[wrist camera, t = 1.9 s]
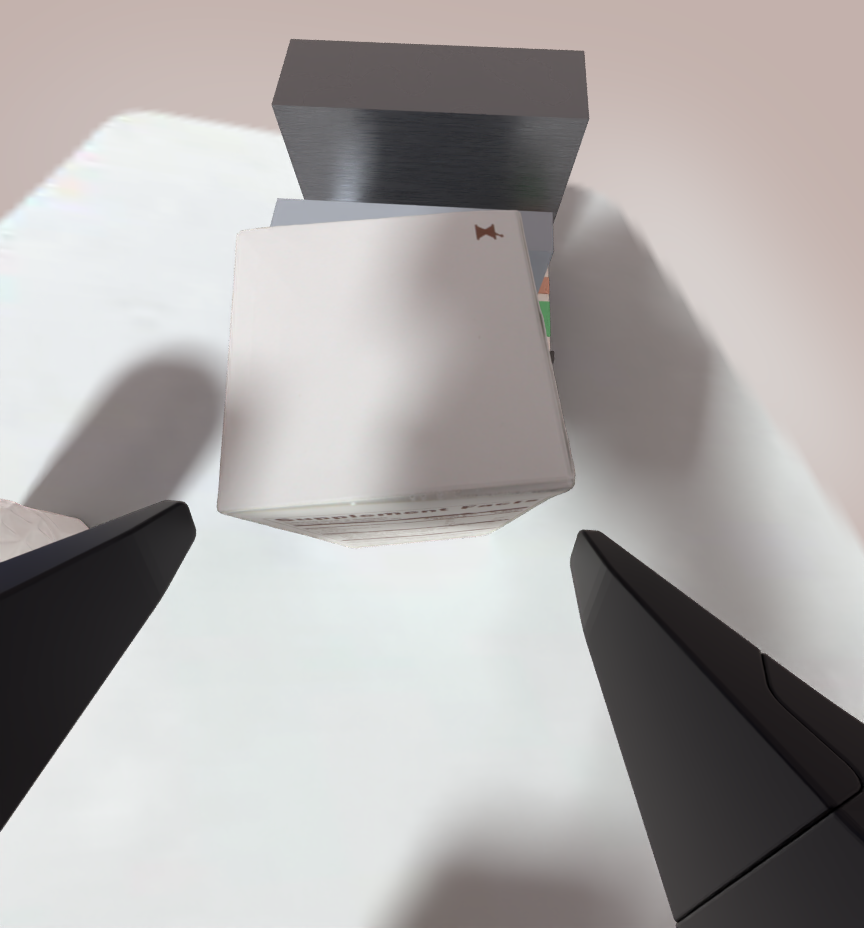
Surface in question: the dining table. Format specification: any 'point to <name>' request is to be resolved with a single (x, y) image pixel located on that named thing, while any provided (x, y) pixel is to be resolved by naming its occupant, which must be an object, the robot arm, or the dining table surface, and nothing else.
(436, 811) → the dining table surface
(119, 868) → the dining table surface
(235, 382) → the supplement box
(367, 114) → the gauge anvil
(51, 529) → the white cup
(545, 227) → the pad
